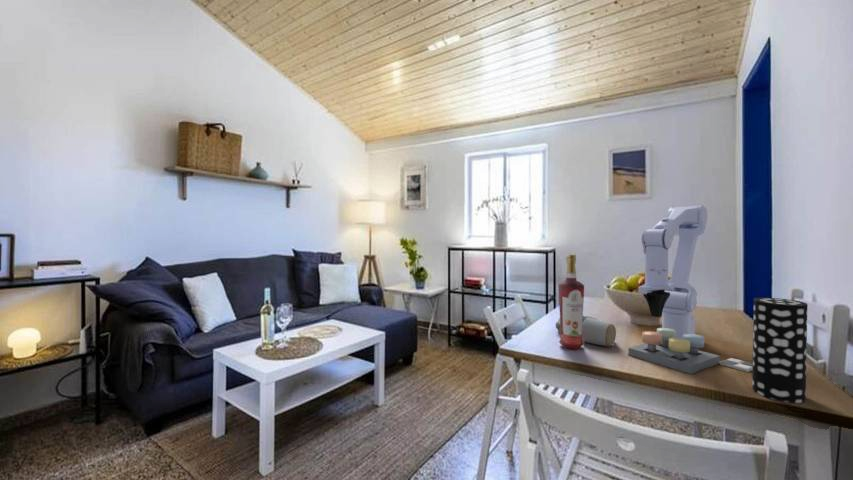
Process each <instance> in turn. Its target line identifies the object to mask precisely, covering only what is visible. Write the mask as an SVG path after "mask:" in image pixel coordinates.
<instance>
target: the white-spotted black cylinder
mask: <svg viewBox="0 0 853 480" xmlns="http://www.w3.org/2000/svg"><path fill="white" fill-rule="evenodd" d="M808 306H809V305H808V303H807V302H804V301H799V300H794V299H787V298H777V297H776V298H775V297H754V298H753V317H752V318H753V320H752V321H753V325H752V330H753V331H752V332H753V333H752V363H753V370H752V382H751V383H752V385H751V386H752V391H753V392H755V393H756V394H758V395H760V396H763V397H765V398H767V399H770V400H775V401H779V402H785V403H792V404H793V403H795V404H799V403H805V402H806V400H807V397H806V395H807V393H806V392H807V391H806V390H807V356H808V355H807V351H808V350H807V346H808V344H807V343H808Z"/></svg>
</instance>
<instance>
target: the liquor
mask: <svg viewBox="0 0 853 480" xmlns="http://www.w3.org/2000/svg"><path fill="white" fill-rule="evenodd" d="M565 257H566V258H565V260H566V274H565V280H562V281H561V282H559V283H558V284H557V285H558V290H557V291H558V304H559V305H558V306H559V307H558V308H559V318H560V329H561V334H560V339H559V341H558V343H559V344H560V345H561V346H562V347H563V348H565V349H567V350H579V349H580V348H581V347H582V346H584V343H583V342H584V341H583V340H582V320H583V316H584V303H585V302H584V300H585V299H584V298H585V284H583V283H582V282H580V281H578V280H577V271H576V262H577V255H576V254H566V256H565Z"/></svg>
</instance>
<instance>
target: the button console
mask: <svg viewBox="0 0 853 480" xmlns="http://www.w3.org/2000/svg"><path fill="white" fill-rule="evenodd" d="M628 355H629V356H630V357H635V358H637V359H641V360H644V361H647V362H650V363H654V364H657V365H661V366H664V367H667V368H671V369H672V370H673V369H675V370H677V371H681V372H684V373H687V374H689V375H692V374H694V373H697V372H700V371H703V370H705V369H708V368H710V367H712V366H717V365H719V364H720V355H718V354H714V353H712V352H711V353H710V352H707V351H703V350H699V349H698V355H692V354H689V352H684V360H678V359H675V351H673V350H670V349H669V348H665V347H662V344H661V345H656V352H650V351H648V344H646V343H644V342H643V343H641V344H638V345H634V346H631V347H628Z"/></svg>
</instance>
